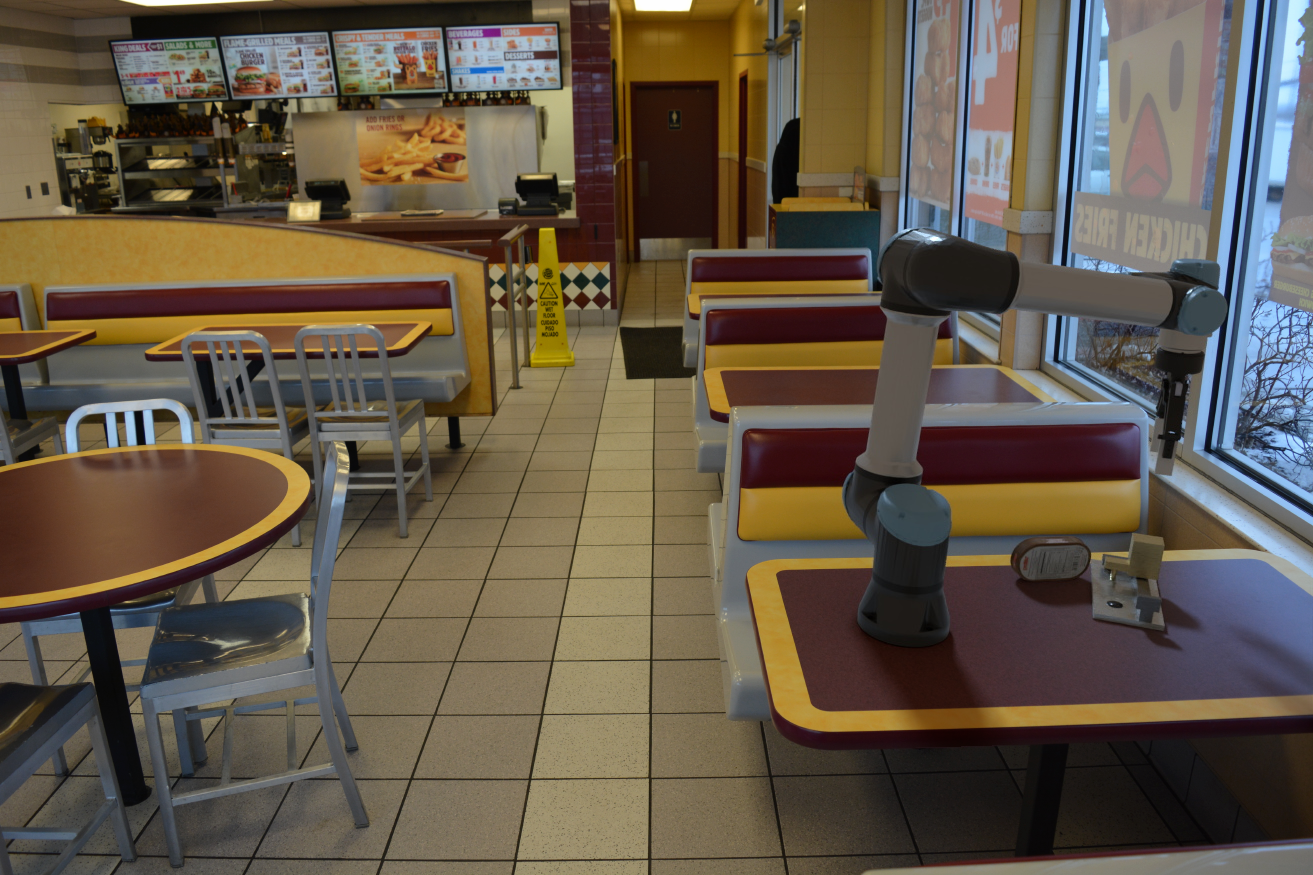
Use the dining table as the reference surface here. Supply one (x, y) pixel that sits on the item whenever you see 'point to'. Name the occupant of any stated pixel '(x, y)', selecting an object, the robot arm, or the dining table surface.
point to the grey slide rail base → (1142, 596)
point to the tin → (1050, 558)
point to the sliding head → (1139, 558)
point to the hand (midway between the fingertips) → (1160, 462)
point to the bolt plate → (1119, 598)
